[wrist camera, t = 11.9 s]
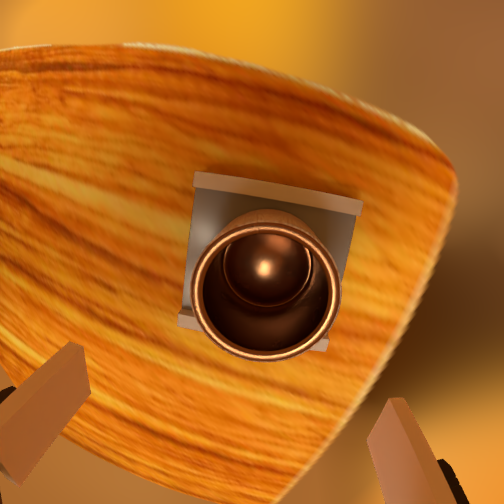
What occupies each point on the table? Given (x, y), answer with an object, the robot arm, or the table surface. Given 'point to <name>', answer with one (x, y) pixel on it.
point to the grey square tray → (264, 197)
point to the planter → (265, 287)
